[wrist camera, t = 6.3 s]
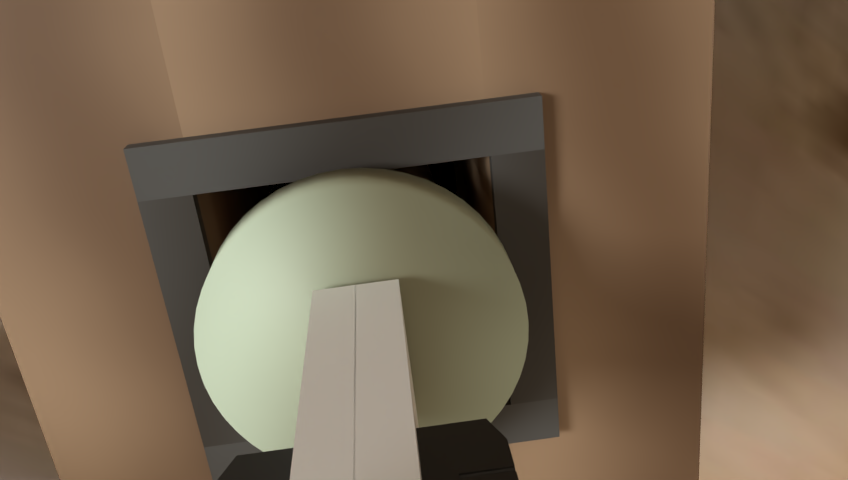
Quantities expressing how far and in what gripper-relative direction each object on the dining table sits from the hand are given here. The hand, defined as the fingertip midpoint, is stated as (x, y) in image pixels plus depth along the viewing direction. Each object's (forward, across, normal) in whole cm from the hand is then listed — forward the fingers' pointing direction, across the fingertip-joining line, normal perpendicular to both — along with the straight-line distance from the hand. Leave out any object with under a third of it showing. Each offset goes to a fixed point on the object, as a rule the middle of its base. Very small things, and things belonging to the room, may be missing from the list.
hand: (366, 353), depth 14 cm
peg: (+8, 0, 0) cm, 8 cm away
